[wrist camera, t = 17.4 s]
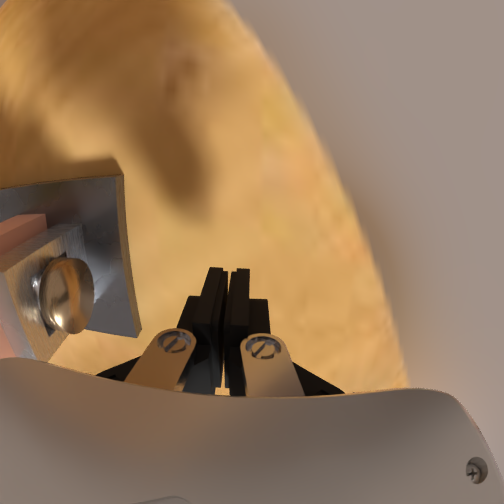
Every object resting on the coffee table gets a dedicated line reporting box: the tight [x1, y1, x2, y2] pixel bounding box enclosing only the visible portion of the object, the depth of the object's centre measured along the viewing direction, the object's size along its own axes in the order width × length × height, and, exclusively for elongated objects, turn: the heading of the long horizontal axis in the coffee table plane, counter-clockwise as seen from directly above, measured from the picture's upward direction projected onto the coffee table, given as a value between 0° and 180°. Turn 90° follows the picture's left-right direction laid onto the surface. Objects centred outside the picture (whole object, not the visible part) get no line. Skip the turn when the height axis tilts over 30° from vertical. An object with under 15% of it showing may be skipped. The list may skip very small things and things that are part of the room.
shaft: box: [29, 257, 94, 334], centre depth 11 cm, size 9×4×4 cm, turn 87°
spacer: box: [0, 214, 47, 359], centre depth 10 cm, size 3×6×8 cm, turn 177°
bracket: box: [0, 175, 142, 362], centre depth 11 cm, size 12×10×8 cm
